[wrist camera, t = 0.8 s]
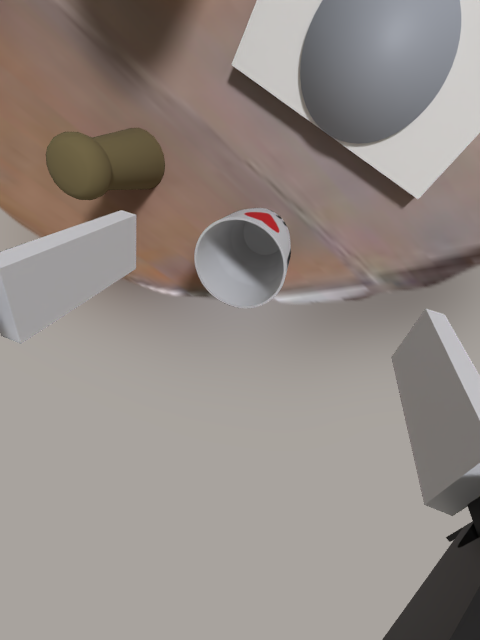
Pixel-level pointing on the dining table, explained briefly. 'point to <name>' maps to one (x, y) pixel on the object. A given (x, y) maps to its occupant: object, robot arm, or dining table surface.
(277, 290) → the cup
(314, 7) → the board
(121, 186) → the olive peg figure
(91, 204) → the dining table surface
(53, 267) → the robot arm
